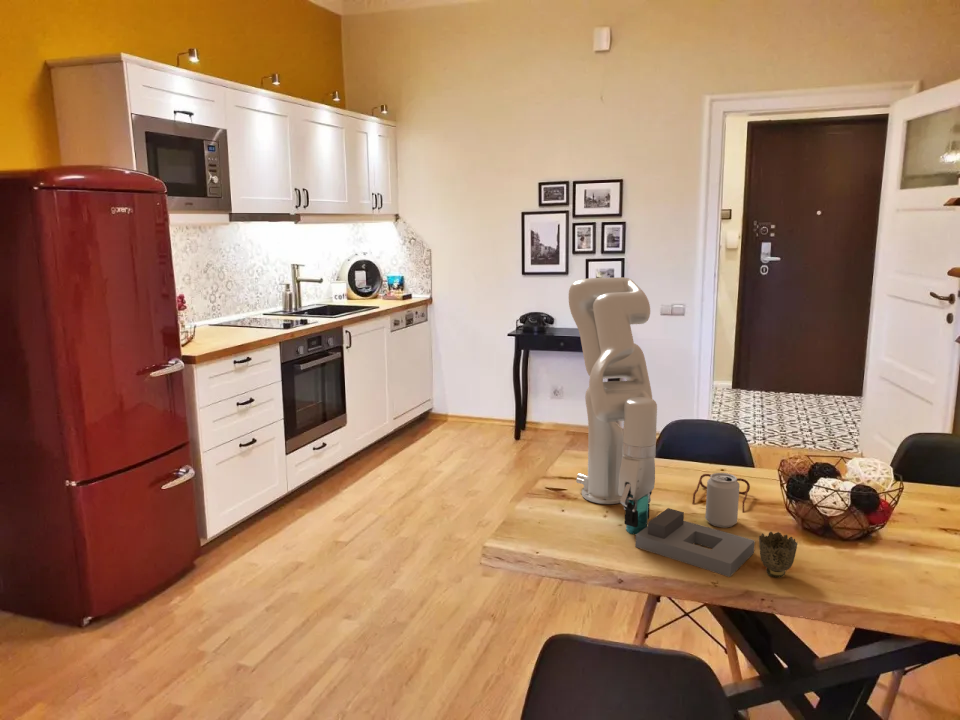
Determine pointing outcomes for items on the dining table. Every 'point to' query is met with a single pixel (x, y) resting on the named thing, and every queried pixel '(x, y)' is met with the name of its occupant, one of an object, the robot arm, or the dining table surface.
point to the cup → (777, 553)
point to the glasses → (706, 488)
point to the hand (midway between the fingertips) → (636, 520)
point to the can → (722, 500)
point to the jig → (678, 541)
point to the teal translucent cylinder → (640, 515)
